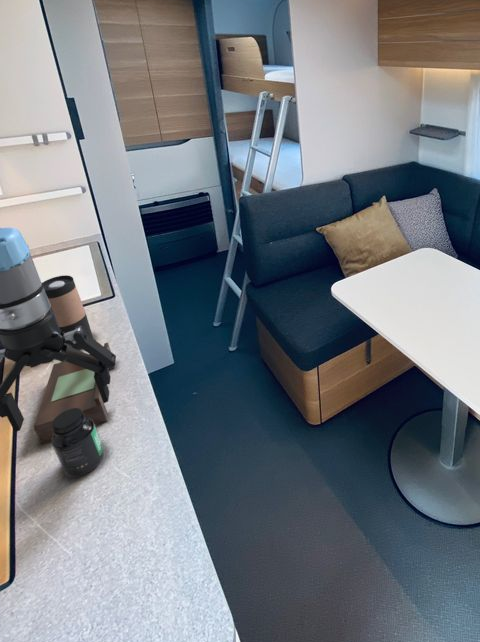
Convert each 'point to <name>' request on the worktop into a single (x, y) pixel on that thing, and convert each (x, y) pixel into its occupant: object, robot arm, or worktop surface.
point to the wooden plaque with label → (69, 397)
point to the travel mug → (66, 305)
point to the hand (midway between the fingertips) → (64, 411)
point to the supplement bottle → (76, 442)
